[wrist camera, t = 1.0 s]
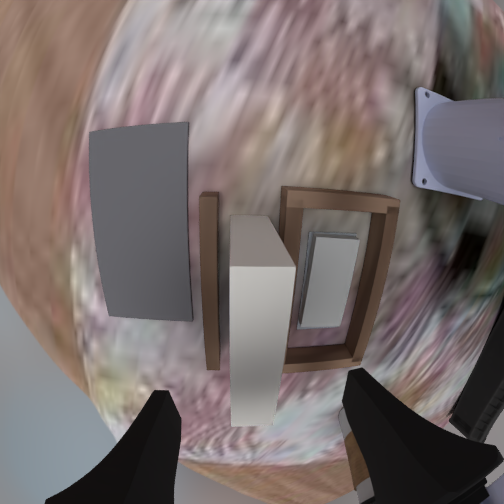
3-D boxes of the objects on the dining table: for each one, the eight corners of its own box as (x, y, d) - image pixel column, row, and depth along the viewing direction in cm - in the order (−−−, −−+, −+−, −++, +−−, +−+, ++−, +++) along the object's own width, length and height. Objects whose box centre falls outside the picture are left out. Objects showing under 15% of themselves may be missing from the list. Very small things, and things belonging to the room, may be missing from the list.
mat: (188, 122, 15) (188, 122, 15) (193, 319, 20) (192, 321, 20) (91, 132, 15) (89, 132, 15) (110, 314, 20) (109, 316, 19)
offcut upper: (354, 236, 19) (359, 240, 18) (336, 319, 21) (339, 326, 20) (312, 232, 18) (316, 236, 17) (298, 319, 21) (300, 326, 20)
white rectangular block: (267, 215, 18) (295, 266, 10) (259, 339, 21) (273, 425, 13) (230, 214, 18) (229, 266, 10) (229, 339, 21) (231, 426, 13)
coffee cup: (338, 391, 25) (385, 514, 11) (402, 379, 25) (460, 476, 11) (320, 432, 27) (349, 533, 13) (379, 420, 28) (417, 506, 14)
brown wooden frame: (385, 195, 18) (400, 200, 16) (352, 351, 23) (359, 365, 21) (203, 184, 17) (199, 187, 15) (208, 357, 22) (207, 374, 20)
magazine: (471, 447, 25) (593, 350, 7) (459, 455, 25) (588, 361, 6) (444, 377, 38) (529, 255, 20) (432, 382, 38) (519, 258, 20)
